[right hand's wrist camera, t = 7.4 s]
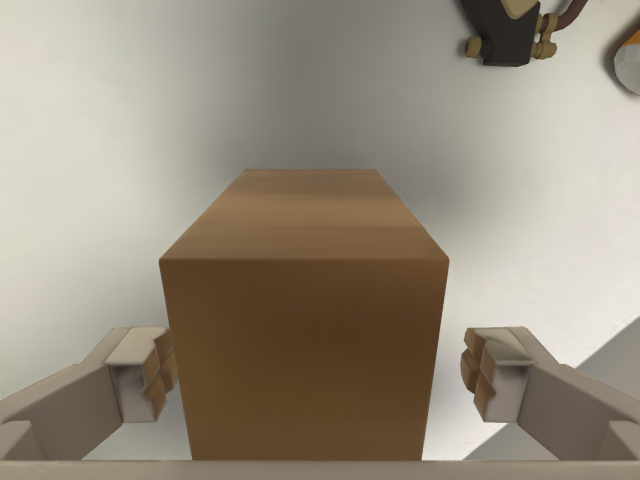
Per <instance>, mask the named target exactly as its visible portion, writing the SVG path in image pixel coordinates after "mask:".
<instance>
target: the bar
mask: <svg viewBox="0 0 640 480" xmlns="http://www.w3.org/2000/svg"><path fill="white" fill-rule="evenodd" d="M449 261H450V260H449V258H448V256H447V255H446V254H445V253H444V252H443V250H442V249H441V248H440V247H439V245H438V244H437V243H436V242H435V241H434V239H433V238H432V237H431V236H430V235H429V233H428V232H427V231H426V230H425V229H424V227H423V226H422V225H421V224H420V223H419V221H418V220H417V219H416V218H415V217H414V215H413V214H412V213H411V212H410V211H409V209H408V208H407V207H406V206H405V205H404V203H403V202H402V201H401V200H400V199H399V197H398V196H397V195H396V194H395V193H394V191H393V190H392V189H391V188H390V186H389V185H388V184H387V183H386V182H385V180H384V179H383V178H382V177H381V176H380V174H379V173H378V172H377V171H376V170H375V169H245V170H244V171H243V172H242V173H241V174H240V175H239V176H238V177H237V178H236V179H235V181H234V182H233V183H232V184H231V185H230V186H229V187H228V188H227V189H226V190H225V191H224V192H223V193H222V194H221V195H220V196H219V197H218V198H217V199H216V200H215V201H214V202H213V203H212V204H211V206H210V207H209V208H208V209H207V210H206V211H205V212H204V213H203V214H202V215H201V216H200V217H199V218H198V219H197V220H196V221H195V222H194V223H193V224H192V225H191V226H190V227H189V228H188V230H187V231H186V232H185V233H184V234H183V235H182V236H181V237H180V238H179V239H178V240H177V241H176V242H175V243H174V244H173V245H172V246H171V247H170V248H169V249H168V250H167V251H166V252H165V254H164V255H163V256H162V257H161V258H160V259H159V267H160V273H161V278H162V284H163V290H164V296H165V302H166V308H167V314H168V319H169V325H170V331H171V337H172V343H173V349H174V355H175V361H176V366H177V372H178V378H179V384H180V390H181V396H182V402H183V408H184V413H185V419H186V425H187V431H188V437H189V443H190V449H191V455H192V460H346V461H421V460H422V452H423V445H424V438H425V431H426V424H427V417H428V410H429V403H430V396H431V389H432V381H433V374H434V367H435V360H436V353H437V346H438V339H439V332H440V325H441V317H442V310H443V303H444V296H445V289H446V282H447V275H448V268H449Z"/></svg>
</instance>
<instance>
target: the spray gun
mask: <svg viewBox="0 0 640 480" xmlns="http://www.w3.org/2000/svg"><path fill="white" fill-rule="evenodd" d="M587 1H588V0H572V2H571V4H570V5H569V7H568V9H567V10H566V11H565V12H564V13H563V14H562V15H561V16H558V17H557V14H554V13H547V14H545V15H544V16H543V17H542V15H541V14H539V10H540V5H541V4H540V2H539V1H538V0H460V2H461V4H462V6H463V8H464V9H465V11H466V13H467V15H468V17H469V19H470V21H471V23H472V24H473V26H474V28H475V30H476V32H477V34H478V36H479V37H470V38H469V39H468V40H467V42H466V45H465V55H466V57H472V58H476V57H477V56H478V55H480V56H481V57H482V58H484V61H483V65H485V66H508V67H518V66H522V65H525V64H528V63H529V61H530V57H531V56H533V57H534V58H535V59H546V58H551V57H552V56H553V55H554V54H555V53H556V50H557V46H556V44H555V43H551V42H550V37H551V33H552V32H555V31H558V30H561V29H564V28H565V27H567V26H568V25H570V24H571V23H572V22H573V21H574V20H575V19H576V18H577V17H578V15H579V14H580V12H581V10H582V9H583V7H584V6H585V4H586V3H587ZM538 31H539V33H540V34H541V35H540V40H539V42H537V43H535V42H534V41H533V40H534V35H535V34H536V33H537V32H538ZM614 66H615V72H616V76H617V78H618V79H619V80H620V82H621V83H622V84H623V85H624V86H625V87H626V88H628V89H629V90H630V91H632V92H634V93H636V94H637V95H639V96H640V29H639V30H638V31H637V32H635V33H634V34H633V35H632V36H631V37H630V38H629V39H628V40H627V41H626V42H625V43H624V44H623V45H622V46H621V47H620V48H619V50H618V52H617V54H616V56H615V58H614Z"/></svg>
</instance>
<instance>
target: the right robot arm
mask: <svg viewBox="0 0 640 480" xmlns="http://www.w3.org/2000/svg"><path fill="white" fill-rule="evenodd" d="M464 342H465V343H466V345H467V347H468V348H467V349H466V350H465V351H464V352H463V353H462V355H461V363H460V366H461V375H462V378H463V382H464V384H465V386H466V388H467V389H468V390H469V391H470V392H472V393H473V394H475V396H474V401H473V402H474V404H475V406H476V408H477V410H478V412H479V414H480V416H481V418H482V419H483V421H484V422H497V423H518V425H519V426H520V427H521V428H522V429H523V430H525V431H526V432H527V433H528V434H529V435H531V436H532V437H533V438H534V439H535V440H537V441H538V442H539V443H540V444H541V445H543V446H544V447H545V448H546V449H547V450H549V451H550V452H551V453H552V454H553V455H555V456H556V457H557V458H558V459H559V460H556V461H555V460H554V461H553V460H541V461H540V460H537V461H535V460H532V461H531V460H516V461H515V460H512V461H509V460H508V461H507V460H501V461H500V460H497V461H495V460H494V461H492V460H491V461H346V460H128V461H103V460H81V459H82V458H83V457H84V456H86V455H87V454H88V453H89V452H90V451H92V450H93V449H94V448H95V447H96V446H98V445H99V444H100V443H101V442H102V441H104V440H105V439H106V438H107V437H108V436H110V435H111V434H112V433H113V432H114V431H116V430H117V429H118V428H119V427H120V426H122V423H142V422H156V421H157V420H158V418H159V416H160V414H161V412H162V410H163V408H164V406H165V404H166V402H167V401H166V396H165V394H167V393H168V392H170V391H171V390H172V389H173V388H174V386H175V384H176V382H177V378H178V372H177V366H176V361H175V355H174V349H173V348H172V347H173V343H172V337H171V331H170V327H115V328H113V329H112V330H111V331H110V332H109V333H108V334H107V335H106V336H105V338H104V339H103V340H102V341H101V342H100V343H99V344H98V345H97V346H96V347H95V349H94V350H93V351H92V352H91V353H90V354H89V355H88V356H87V357H86V358H85V359H84V361H83V362H82V363H81V364H74V365H72V366H70V367H68V368H66V369H63V370H61V371H59V372H57V373H55V374H53V375H51V376H49V377H47V378H45V379H43V380H41V381H39V382H37V383H35V384H33V385H31V386H29V387H27V388H25V389H23V390H21V391H19V392H17V393H15V394H13V395H11V396H9V397H7V398H5V399H3V400H1V401H0V480H640V401H639V400H637V399H635V398H633V397H631V396H629V395H627V394H625V393H623V392H621V391H619V390H617V389H615V388H613V387H611V386H609V385H607V384H605V383H603V382H601V381H599V380H597V379H595V378H593V377H591V376H589V375H587V374H585V373H583V372H581V371H578V370H576V369H574V368H572V367H570V366H568V365H566V364H559V363H558V362H557V361H556V359H555V358H554V357H553V356H552V355H551V354H550V353H549V352H548V351H547V350H546V349H545V347H544V346H543V345H542V344H541V343H540V342H539V341H538V340H537V339H536V338H535V336H534V335H533V334H532V333H531V332H530V331H529V330H528V329H527V328H525V327H523V326H517V327H491V328H467V330H466V332H465V337H464Z"/></svg>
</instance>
